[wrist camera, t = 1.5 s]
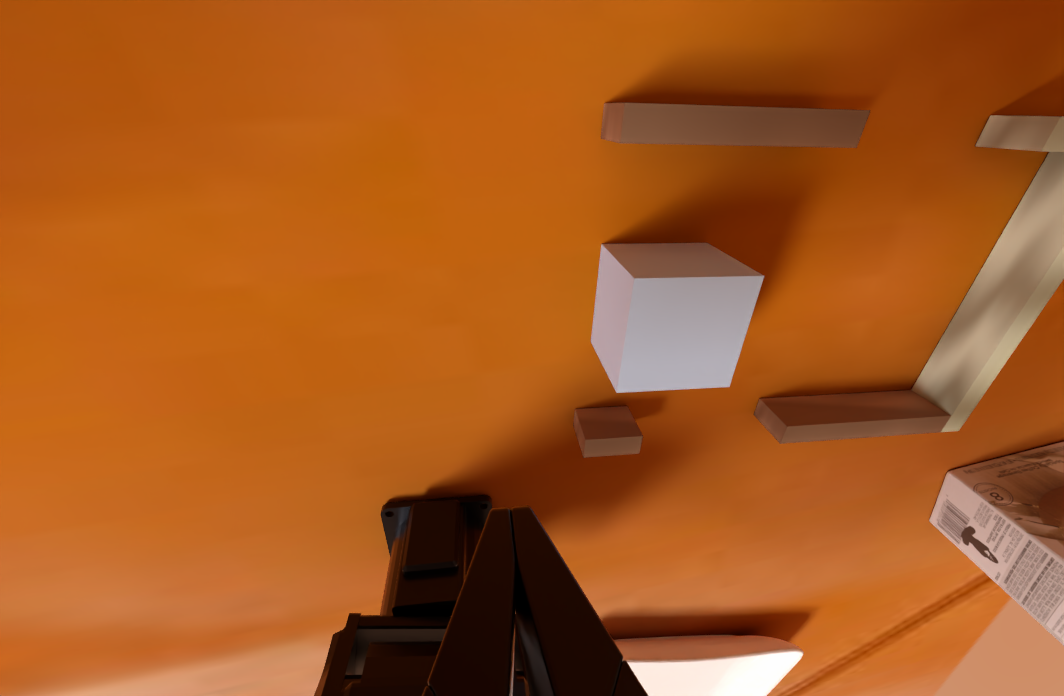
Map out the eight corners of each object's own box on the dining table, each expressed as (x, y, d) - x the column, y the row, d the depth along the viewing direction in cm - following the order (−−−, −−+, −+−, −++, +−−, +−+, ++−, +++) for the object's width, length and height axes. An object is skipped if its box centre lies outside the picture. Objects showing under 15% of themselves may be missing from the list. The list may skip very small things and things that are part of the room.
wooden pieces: (919, 404, 26) (958, 430, 24) (573, 425, 24) (583, 457, 22) (1092, 118, 18) (1173, 119, 16) (604, 103, 16) (624, 102, 14)
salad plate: (702, 715, 49) (717, 754, 46) (523, 729, 45) (527, 773, 42) (787, 611, 39) (813, 653, 36) (567, 618, 35) (576, 665, 32)
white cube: (683, 337, 22) (729, 386, 18) (590, 340, 21) (616, 392, 17) (705, 242, 19) (764, 275, 15) (600, 243, 19) (634, 278, 15)
